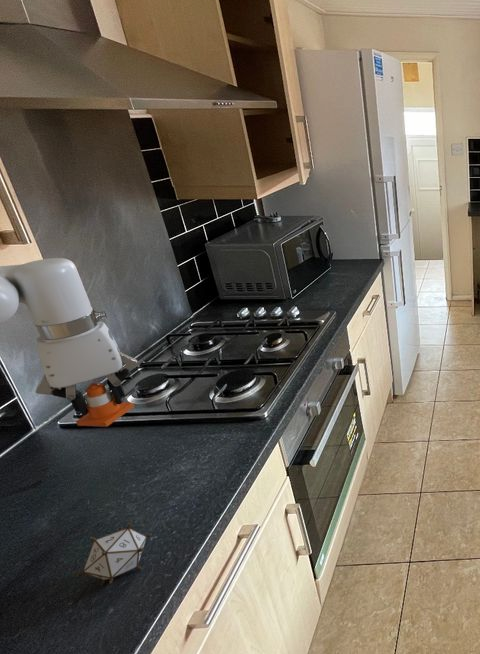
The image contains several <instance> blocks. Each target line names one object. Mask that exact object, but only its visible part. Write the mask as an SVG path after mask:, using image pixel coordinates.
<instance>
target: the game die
mask: <svg viewBox="0 0 480 654" xmlns="http://www.w3.org/2000/svg"><path fill="white" fill-rule="evenodd" d="M132 526H133V524H132V522H130V523H128V524H127V527H125V528H124V526H121V527H119V528H118V530H117V531H114V532H112V533H109V534H107V535H103V536H101V537H98V538H96V537H95V536H90V537H89V540H90V541H91V542H92V545H91V548H90V550H89V553H88V556H87V558H86V561H85V564H84V567H83V569H82V571H79V572H77V573H76V575H75V577H80V576H82V575H83V574H86V575H88V576H91V577H93V578H96V579H100V580H101V581H100V585H101V586H103V585H105V583H106V581H107V580H108V583H109V584H112V583H113V582H114V579H115V578H116V577H118V576H119V577H120V576H121V575H123V574H125V573H127V572H130V571H132V570H134V569H136V570H138V571H139V570H142V566H141V565H140V562H141V558H142V554H143V551H144V548H145V545H146V541H147V538H150V537H152V535H153V533H150V532H149V533H148V534H146V535H145V534H143V533H141V532H139V531H137V530H134V529H133V528H131V527H132Z"/></svg>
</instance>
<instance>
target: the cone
mask: <svg viewBox="0 0 480 654" xmlns="http://www.w3.org/2000/svg"><path fill="white" fill-rule="evenodd" d="M85 393H86V395H85V396H84V399H85V401H86V404H87V405H86V409H87V411H88V414H86V415H85V416H82V417H80V418H79V419H77V420H75V423H76V425H77V426H79V427H101V428H103V427H104V428H105V427H109V426H110V425H112V424H113V423H114V422H116V421H117V420H118V419H119V418H121V417H123V416H124V415H125V414H126V413H128V412H129V411H130V410H131V409H133V408H135V405H134V402H126V401H125V402H124V401H122V403H121V404H117V403H116V401H115V398H114V396H113V393H112V391H111V388H109V387H106V386H105V384H104V383H103V382H92V383H90V384H89V385H88V386H87V387H86V388H85Z"/></svg>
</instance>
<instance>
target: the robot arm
mask: <svg viewBox="0 0 480 654" xmlns="http://www.w3.org/2000/svg"><path fill="white" fill-rule="evenodd" d="M20 304H24V305H25V306H26V308H27V311H28V313H29V315H30V318H31V319H32V322H33V324H34V326H35V328H36V330H37V332H38V335H39V336H37V337H36V348H37V352H38V356H39V359H40V363H41V367H42V370H43V372H44V374H43V376H42V378H41V380H39V383H38V384H37V386H36V388H35V394H37V395H47V396H50V395H51V396H54V397H58V398H63V399H66V400H67V401H68V402H69V401H70V402H71V405H72V407H73V409H74V411H75V412H76V413H78V412H80V414H81V416H82V417H83V416H85V415H86V414H88V411H87V409H86V405H87V402H86V399H85V396H84V395H83V392H82V391H80V390H78V389H77V385H78V384H82V383H85V382H89V381H92V380H95V379H99V378H102V377H105V378H106V379H107V380H108V381H109V383H110V391H111V394H112V395H113V396H114V398H115V401H116V403H117V404H121V403H122V402H123V398H124V397H126V392H125V390H124V387H123V385H122V382H123V381H124V380H125V378H126V377H127V376H128V375H129V373H130V372H131V371H132V370H134V369H135V368H136V367H137V366H138V365H139V361H138V359H137V358H135V357H132V356H130V355H128V354H125V353H123V352H121V350H120V348H119V346H118V343H117V341H116V339H115V337H114V335H113V334H112V332H111V330H110V329H109V327H108V326H107V324H106V323H105V322H104V321H102V320H103V319H107V318H108V316H107V313H106V311H105V310H103V311H97V310H95V309H94V308H93V306H92V304H91V301H90V299H89V297H88V293H87V291H86V289H85V286H84V284H83V281H82V279H81V276H80V274H79V271H78V268H77V266H76V264H75V263H74V262H73V261H72V260H70V259H68V258H63V257H53V258H52V257H51V258H43V259H38V260H33V261H29V262H26V263H20V264H11V265H0V324H4V323H5V322H7V321H8V320H9V319H11V318H13V317H14V315H15V314H16V313H17V311H18V308H19V305H20ZM123 364H125V365H123Z"/></svg>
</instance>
